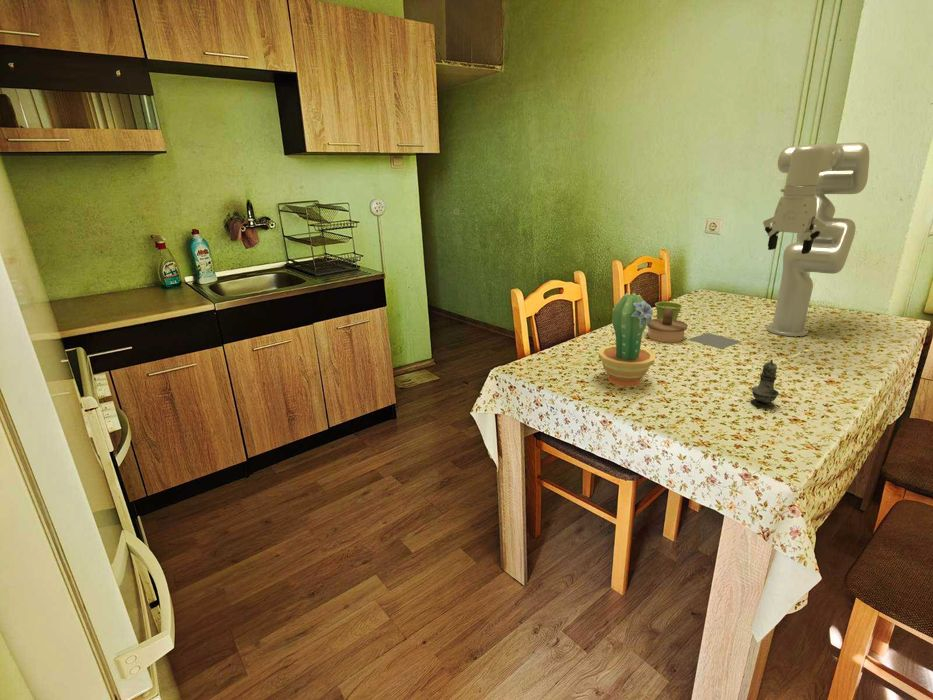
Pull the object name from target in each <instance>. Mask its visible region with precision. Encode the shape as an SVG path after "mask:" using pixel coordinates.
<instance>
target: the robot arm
mask: <svg viewBox="0 0 933 700" xmlns="http://www.w3.org/2000/svg"><path fill="white" fill-rule="evenodd" d="M869 166H870V148H869V146H868V145H867V144H866V143H865V142H843V143H816V144H810V145H809V144H808V145H806V144H805V145H793V146H786V147H785V148H783V149H782V150H781V152H780V154H779V156H778V159H777V169H778V170H779V172H780V173H783V174H787V178H786V184H785V186H784V187H781V188H780V192H781V193H783V196H780V197H779V200H778V202H777V205H776V208H775V209H774V215H773V216H772V217H769V218H767V219H766V220H763V222H762V224H763V226H764V231H765V232H766V233H767V237H768V242H767V247H768V248H767V250H768V251H771V250H776V249H777V245H778V240H779V236H778V234H779V233H781V232H782V233H791V234H796V240H797V241H798V242H792V243H790V244H788V245H787V246H786V247H785V249H784V251H783V256H782V272H781V280H780V285H779V289H778V296H777V300H776V305H775V309H774V315H773V320H772V323H771V324H768V325H766V328H765V329H766V331H768V332H770V333H772V334H775V335H779V336H784V337H793V336H794V337H797V336H800V337H805V335H806V336H807V335H808V334H809V330H808V329H807V328H805V324H806V323H808V319H807V314H808V311H809V307H810V306H809V305H810V302H811V298H812V292H813V290H814V289H813V288H814V282H813V280H812V278H811V275H809V273H821V274H832V275H833V274H839V272H841V271H842V269H844V267H845V264H846V262H847V259H848V256H849V253H850V250H851V247H852V244H853V241H854V238H855V235H856V222H854V221H853V220H852V219H849V218H843V217H841V218H840V217H834V216H835V212H836V208H835V205H834V204H833V202H832V201H831V200H830V199H829V198H828V197H827V196H826V195H857V194H859V193H861V192H863V191H864V189H865V188H866V185H867V182H868V179H869V178H868V177H869V168H870V167H869Z"/></svg>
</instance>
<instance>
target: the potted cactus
mask: <svg viewBox="0 0 933 700" xmlns="http://www.w3.org/2000/svg"><path fill="white" fill-rule="evenodd" d="M653 316H654V312H653V309H652V306H651V305H650V304H648V302H646V301H645V300H644V299H643V297H642V296H641V294H636V293H634V292H633V293H631V294H630V293H628V292H626V293H625V294H623V295H622V297H621V298H620V299H619V300H618V302H617V303H616V304H615V305H614V306H613V308H612V320H611V323H612V328H613V331H614V333H615V344H613V345H612V344H611V345H607V346H604V347H601V348H600V349H599V350H598V352H597V355H598V359H599V360H600V361H601V363H602V368H603V370H604V371H605V373H606V374H607V376H608V377H607V381H609V382H610V383H611V384H613V385H614V386H618V387H619V386H620V387H627V388H629V387H637V386H639V385H640V384H641V379H642V378H643V377H644V376H645V375H646V374H647V373H648V370H649V368H650V367H651V366H654V362H655V359H656V353H654V352H652V351H651V350H650V349H647V348H644V347H641V344H642V340H643V339H642V338H643V332H644V330H645V328H646V327H647V322H649V324H651V320H652V319H653V318H652V317H653Z"/></svg>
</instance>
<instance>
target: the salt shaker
mask: <svg viewBox="0 0 933 700" xmlns="http://www.w3.org/2000/svg"><path fill="white" fill-rule="evenodd" d="M773 361H774V360H773V359H770V360H769V362H766V363H764V364H763V368H762V371H761V374H760V375H759V378H760V380H759V383H758V386H756V385H755V386H753V387H752V388H751V391H752V396H753V399H750V404H751V405H752V406H754V407H756V408H760V409H764V410H766V409H768V410H769V409H774V408H775V405H776V404H775V403H774V401H775V400H776V399H777V398H778V397H777V396H779V395H780V393H779V391H778V390H777V389H775V388H774V386H775V381H776V380H777V377H776V374H777V369H778V366H777V364H776V363H774V362H773Z"/></svg>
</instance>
